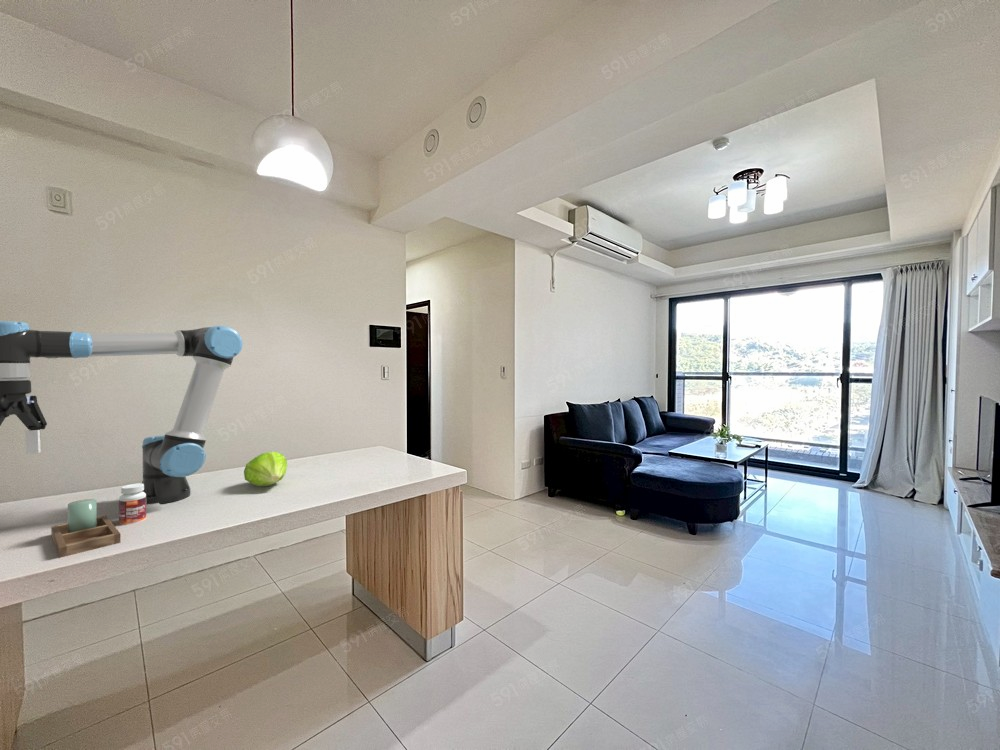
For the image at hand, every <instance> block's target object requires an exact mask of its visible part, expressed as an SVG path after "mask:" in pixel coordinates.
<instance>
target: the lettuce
mask: <svg viewBox="0 0 1000 750" xmlns="http://www.w3.org/2000/svg"><path fill="white" fill-rule="evenodd" d="M287 461H288V460H287V458H286V457H285V456H284V454H283V453H280V452H278V451H269V452H264V453H261V454H259V455H256V456H255V457H254V458H252V459H251V460H250V461H249V462H247V463H246V464H245V466H244V470H243V476H244V480H245V481H247V482H249V483H250V484H252V485H254V486H256V487H260V488H261V487H268V486H272V485H274V484H276V483H278V482H279V481H281V480H283V479H284V477H285V475H286V473H287V470H288V469H287V468H288V462H287Z"/></svg>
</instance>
